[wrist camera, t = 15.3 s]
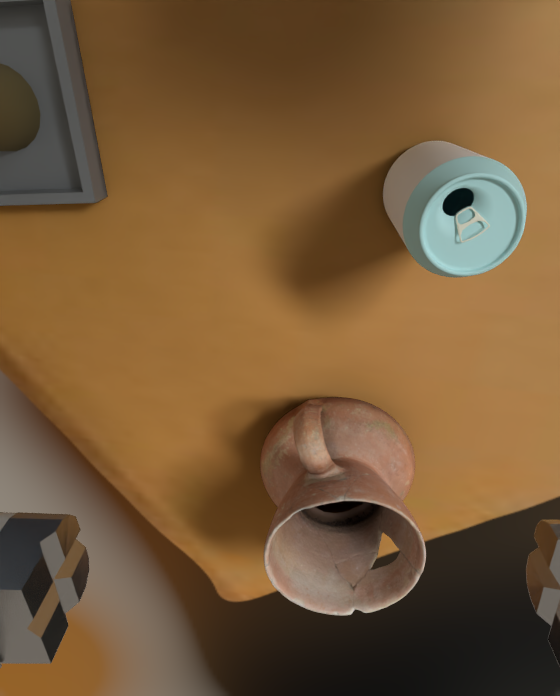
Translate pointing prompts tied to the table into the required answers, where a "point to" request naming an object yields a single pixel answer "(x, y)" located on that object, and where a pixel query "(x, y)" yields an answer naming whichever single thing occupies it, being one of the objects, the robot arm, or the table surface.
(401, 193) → the can
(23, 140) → the olive tapered rounded piece
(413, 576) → the ceramic jug
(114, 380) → the table surface
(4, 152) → the tray
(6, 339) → the table surface
